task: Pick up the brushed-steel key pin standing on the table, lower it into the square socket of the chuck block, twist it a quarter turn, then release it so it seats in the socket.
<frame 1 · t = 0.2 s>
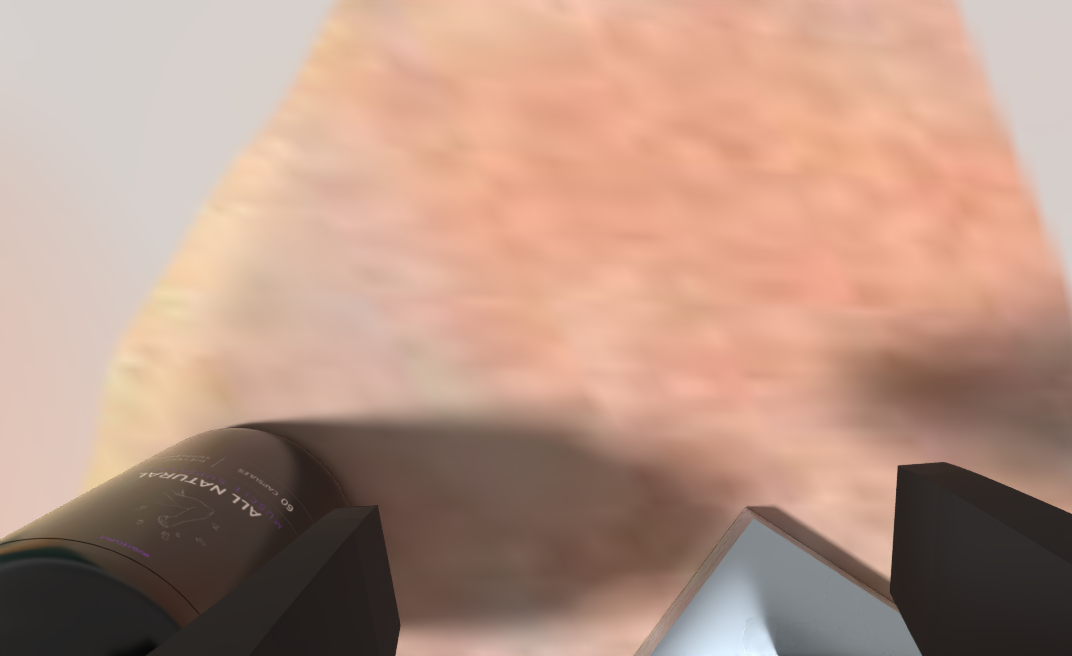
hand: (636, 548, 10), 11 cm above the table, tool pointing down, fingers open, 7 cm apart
supplement bottle: (252, 526, 21), on the table
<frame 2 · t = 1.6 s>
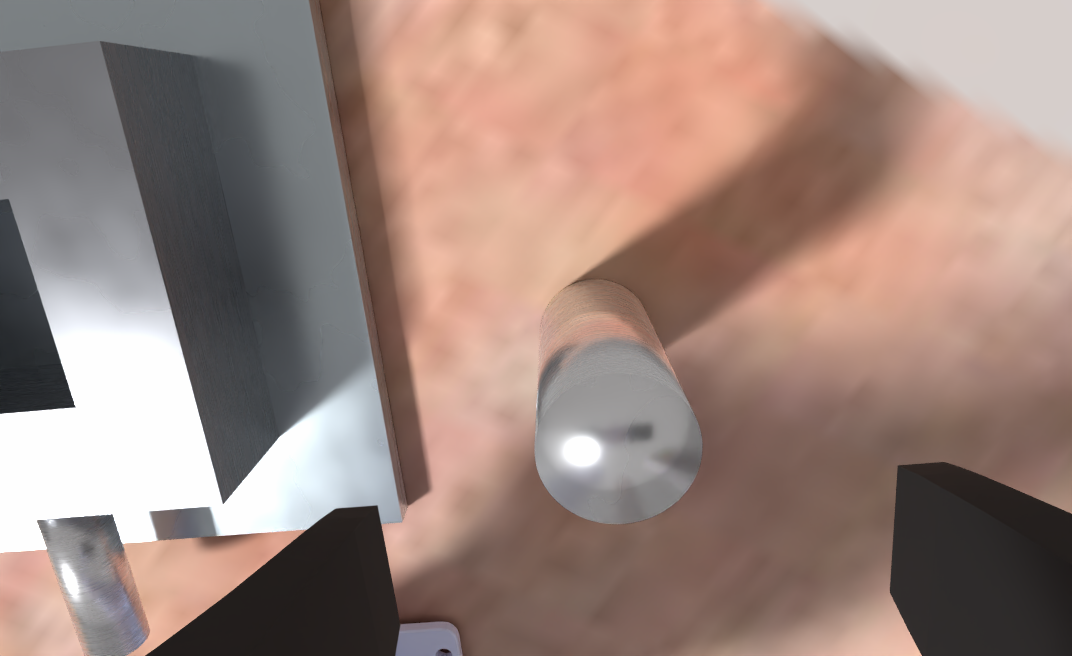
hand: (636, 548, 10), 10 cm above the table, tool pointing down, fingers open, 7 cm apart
key pin: (594, 332, 19), on the table
chuck: (73, 272, 19), on the table
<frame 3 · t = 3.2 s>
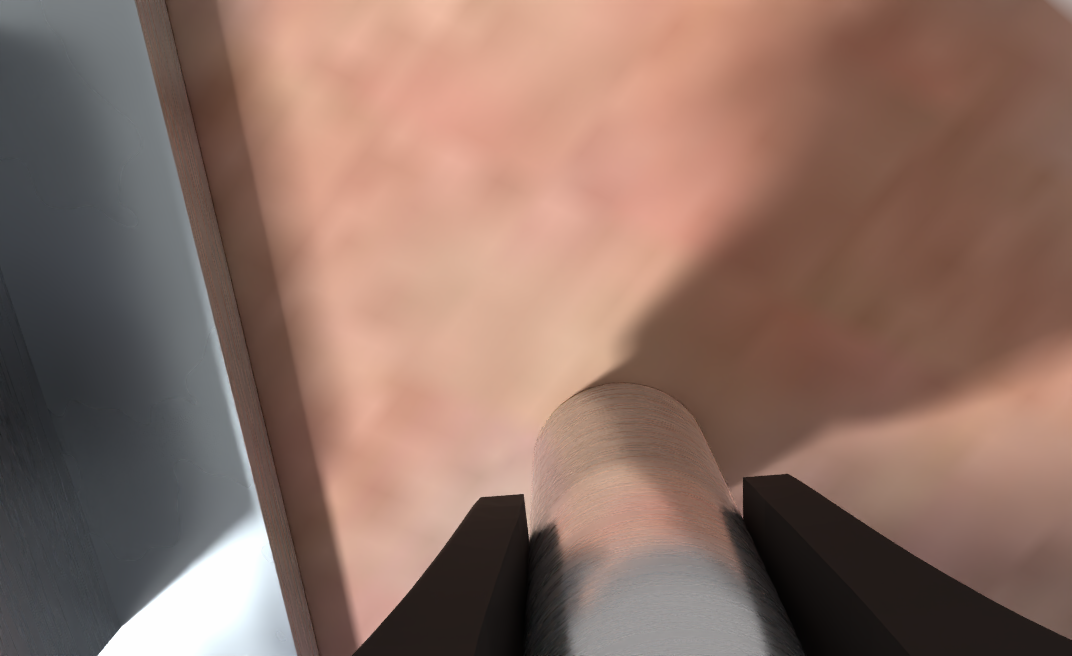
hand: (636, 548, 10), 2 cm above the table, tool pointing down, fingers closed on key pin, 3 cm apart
key pin: (619, 463, 12), on the table, touching gripper
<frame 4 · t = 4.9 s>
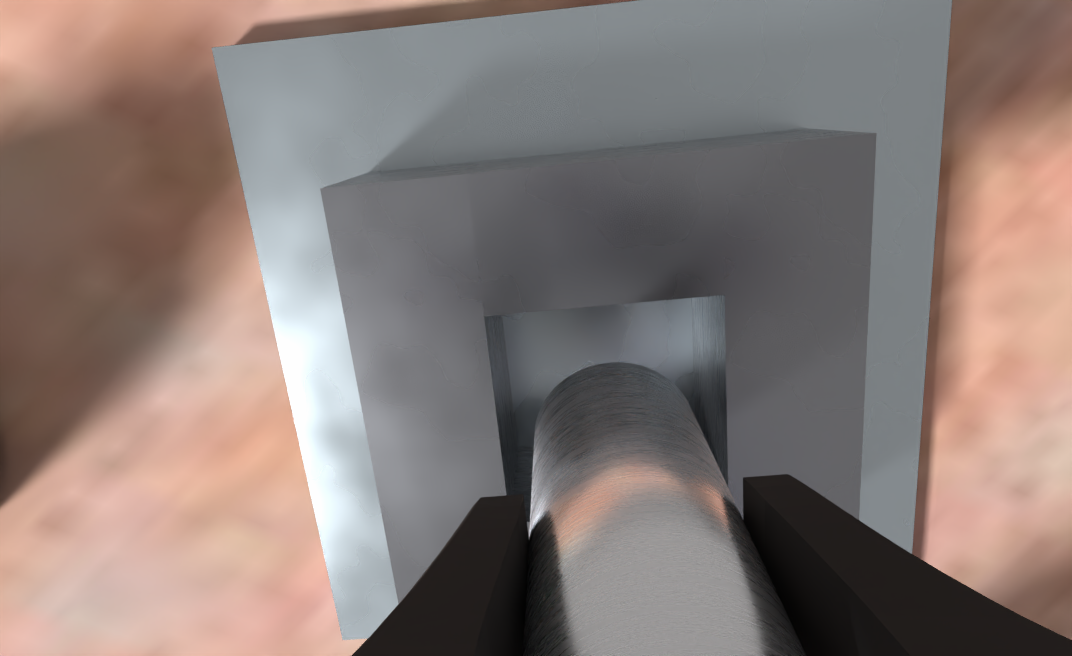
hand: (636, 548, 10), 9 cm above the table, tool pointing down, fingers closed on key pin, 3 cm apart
key pin: (614, 437, 13), point 5 cm above the table, touching gripper
chuck: (597, 346, 18), on the table
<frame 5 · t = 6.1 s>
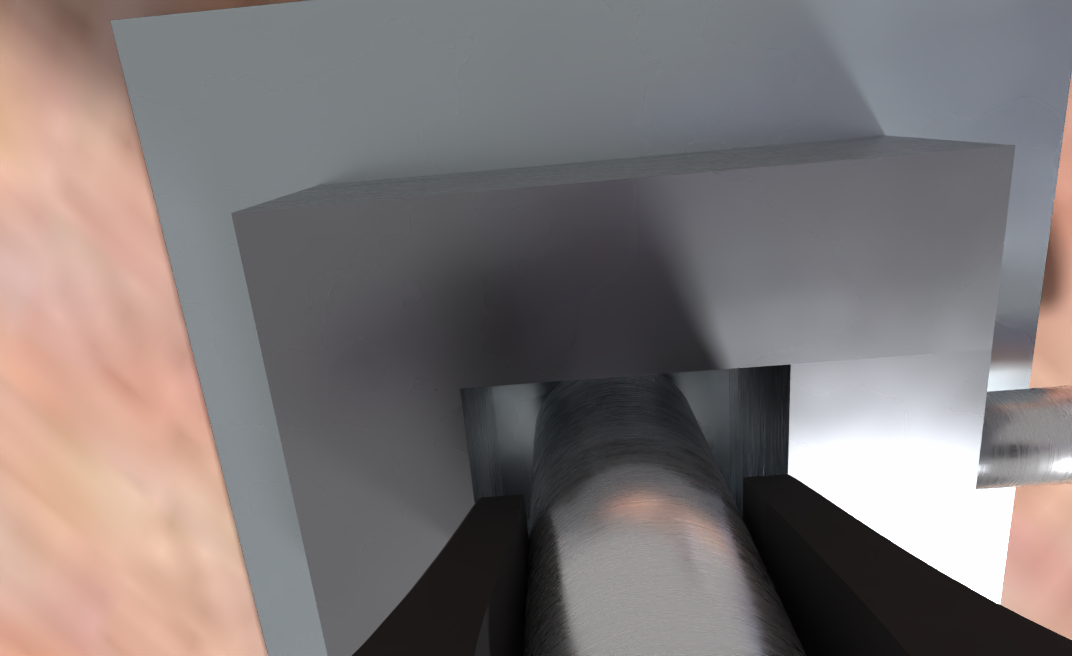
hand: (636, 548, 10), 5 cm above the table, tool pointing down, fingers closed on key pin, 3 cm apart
key pin: (614, 437, 13), point 2 cm above the table, touching gripper
chuck: (608, 403, 14), on the table
when the fingers open (5 cm above the table, at t = 7.1 s): key pin stays where it is, resting on chuck.
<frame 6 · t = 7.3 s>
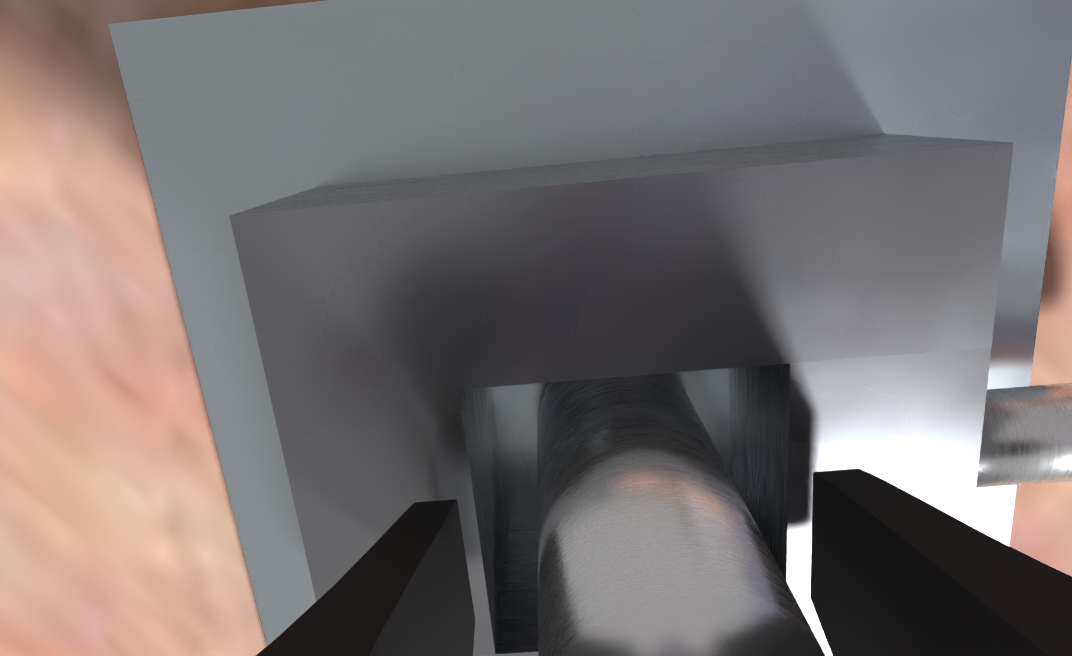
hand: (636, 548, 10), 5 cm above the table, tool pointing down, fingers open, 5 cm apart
key pin: (613, 418, 14), point 1 cm above the table, touching chuck
chuck: (608, 403, 14), on the table
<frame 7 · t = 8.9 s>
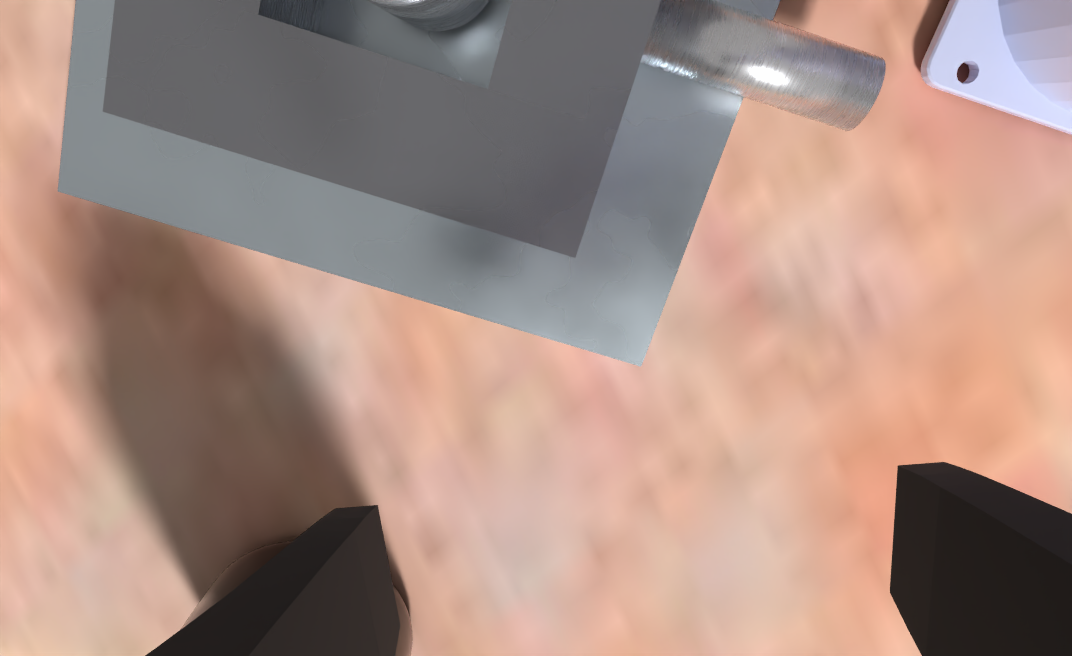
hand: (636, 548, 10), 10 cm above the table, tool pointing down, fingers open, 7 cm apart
supplement bottle: (316, 617, 23), on the table
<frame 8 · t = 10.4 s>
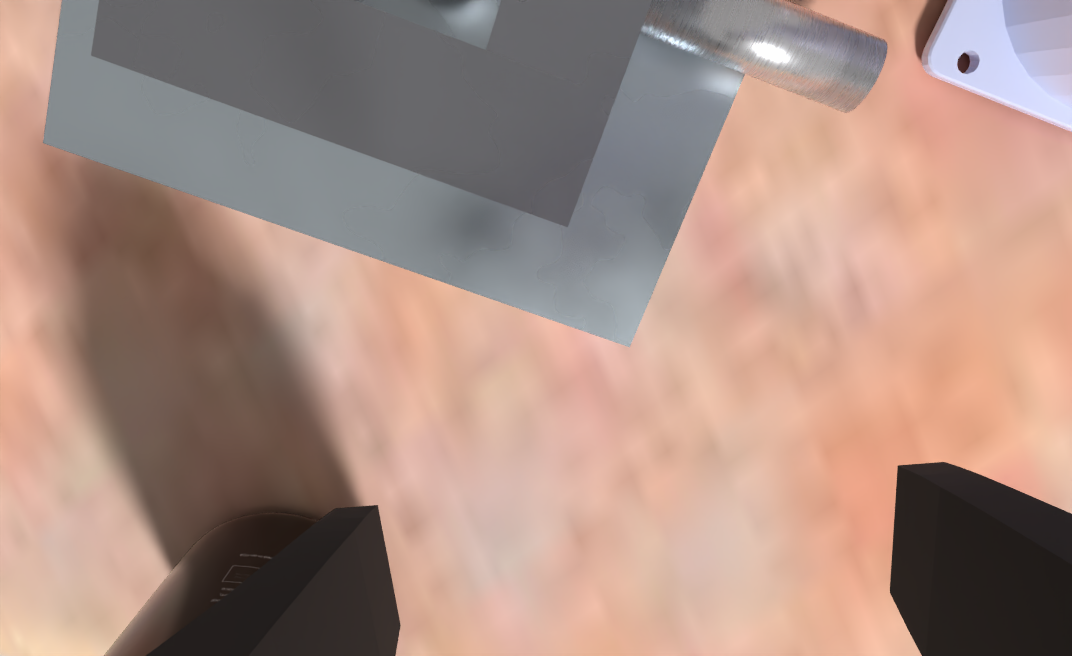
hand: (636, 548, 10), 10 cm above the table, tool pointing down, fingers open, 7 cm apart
supplement bottle: (291, 592, 23), on the table
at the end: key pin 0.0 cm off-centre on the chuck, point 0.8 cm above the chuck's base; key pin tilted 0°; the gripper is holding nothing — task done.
